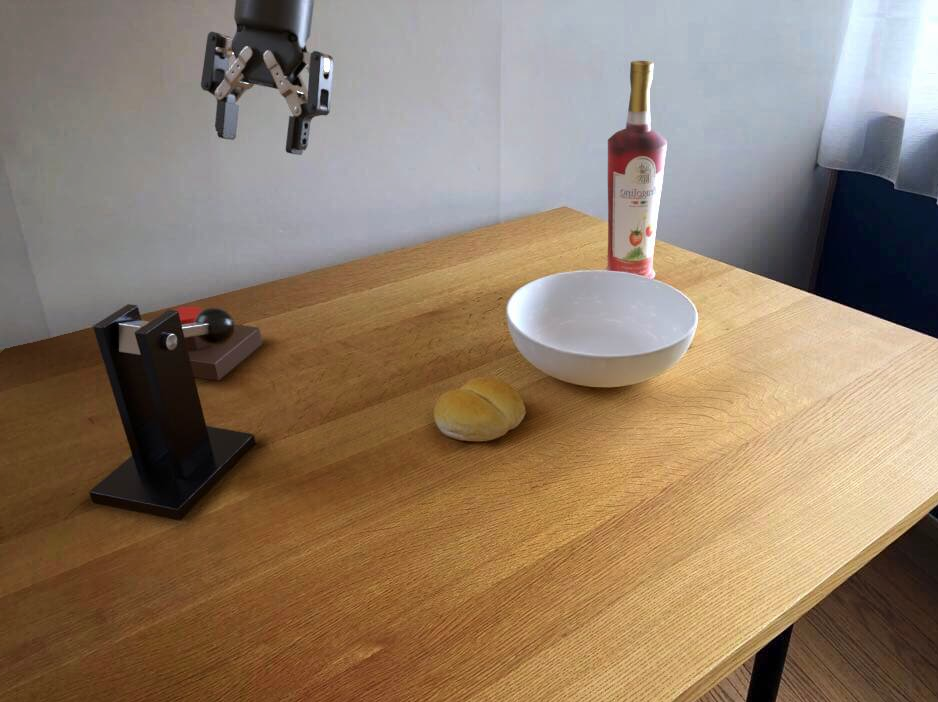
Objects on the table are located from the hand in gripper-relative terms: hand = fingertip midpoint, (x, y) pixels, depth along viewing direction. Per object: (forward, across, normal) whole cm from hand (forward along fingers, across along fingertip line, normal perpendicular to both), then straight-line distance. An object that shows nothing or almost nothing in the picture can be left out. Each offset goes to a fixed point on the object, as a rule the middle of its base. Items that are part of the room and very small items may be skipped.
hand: (259, 146), depth 92 cm
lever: (+18, -7, +19) cm, 27 cm away
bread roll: (+22, -31, +3) cm, 38 cm away
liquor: (+9, -36, -34) cm, 50 cm away
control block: (+24, +5, +1) cm, 25 cm away
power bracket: (+29, -9, +19) cm, 36 cm away
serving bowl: (+16, -39, -12) cm, 44 cm away
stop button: (+21, +5, +2) cm, 22 cm away
